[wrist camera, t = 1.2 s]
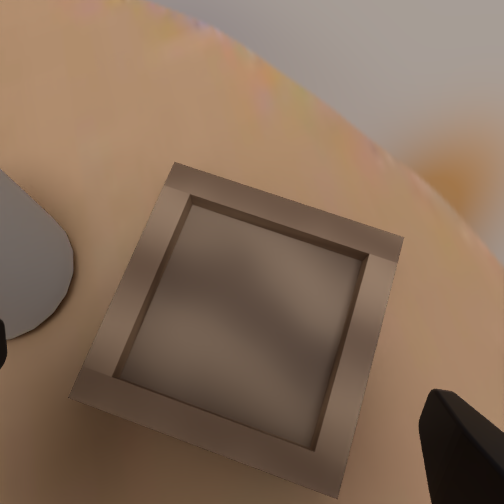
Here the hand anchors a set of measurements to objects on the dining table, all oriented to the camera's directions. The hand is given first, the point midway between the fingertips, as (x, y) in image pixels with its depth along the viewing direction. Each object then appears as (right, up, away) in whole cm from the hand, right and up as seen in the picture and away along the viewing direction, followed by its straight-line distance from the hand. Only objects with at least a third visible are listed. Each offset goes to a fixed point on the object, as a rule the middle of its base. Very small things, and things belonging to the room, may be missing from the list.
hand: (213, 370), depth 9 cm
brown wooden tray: (0, -1, +14) cm, 15 cm away
